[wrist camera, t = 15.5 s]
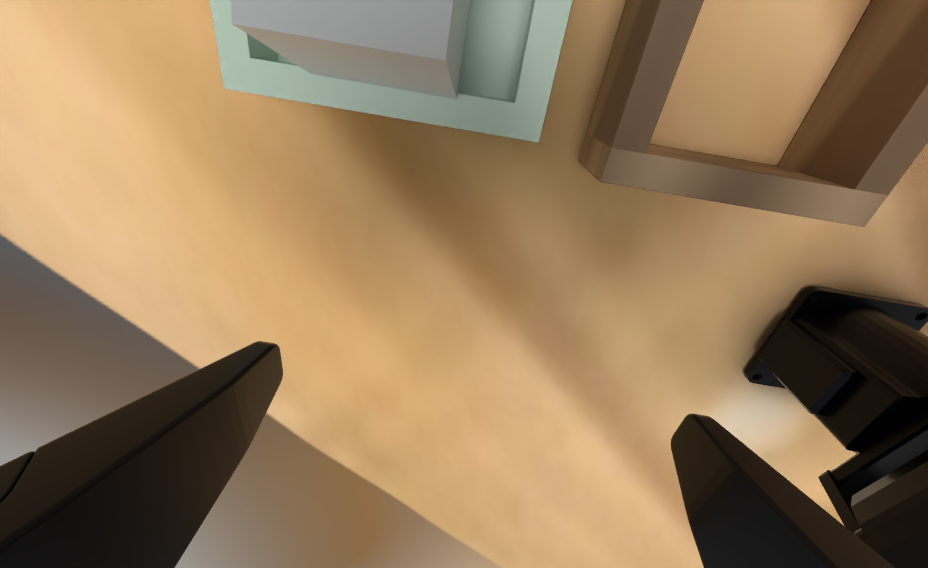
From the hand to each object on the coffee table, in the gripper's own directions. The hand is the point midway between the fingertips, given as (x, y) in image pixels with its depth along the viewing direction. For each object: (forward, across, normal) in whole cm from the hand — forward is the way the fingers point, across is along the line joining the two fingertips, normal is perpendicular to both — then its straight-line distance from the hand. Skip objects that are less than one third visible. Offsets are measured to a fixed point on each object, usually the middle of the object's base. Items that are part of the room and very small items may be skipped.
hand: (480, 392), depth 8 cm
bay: (+12, -8, -7) cm, 16 cm away
